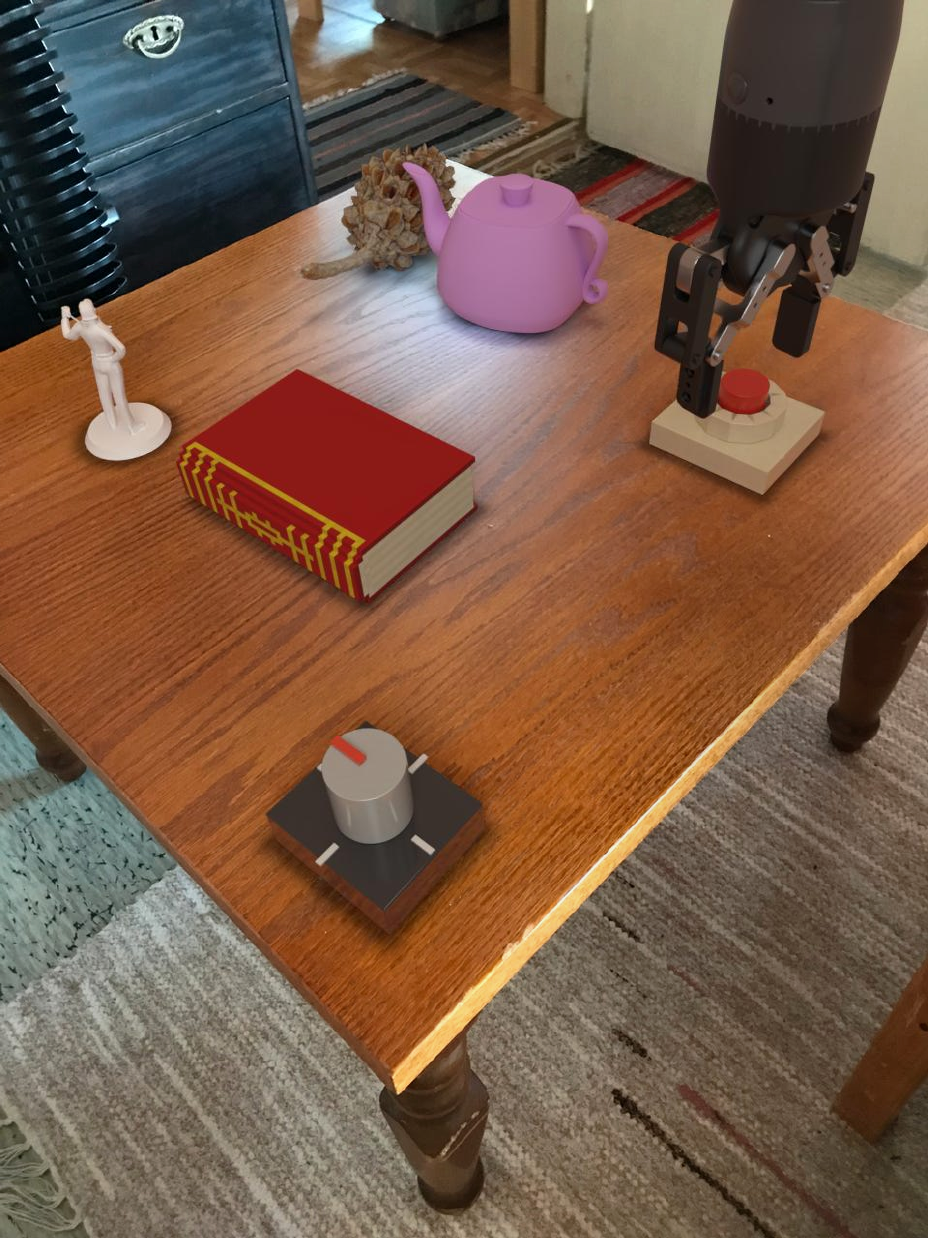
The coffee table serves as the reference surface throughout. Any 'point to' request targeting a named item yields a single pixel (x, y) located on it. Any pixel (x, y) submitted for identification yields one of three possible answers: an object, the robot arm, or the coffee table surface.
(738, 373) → the button
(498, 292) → the teapot
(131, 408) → the figurine
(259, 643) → the coffee table surface
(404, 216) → the pine cone
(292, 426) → the book
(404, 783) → the burner knob
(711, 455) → the block
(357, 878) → the panel
